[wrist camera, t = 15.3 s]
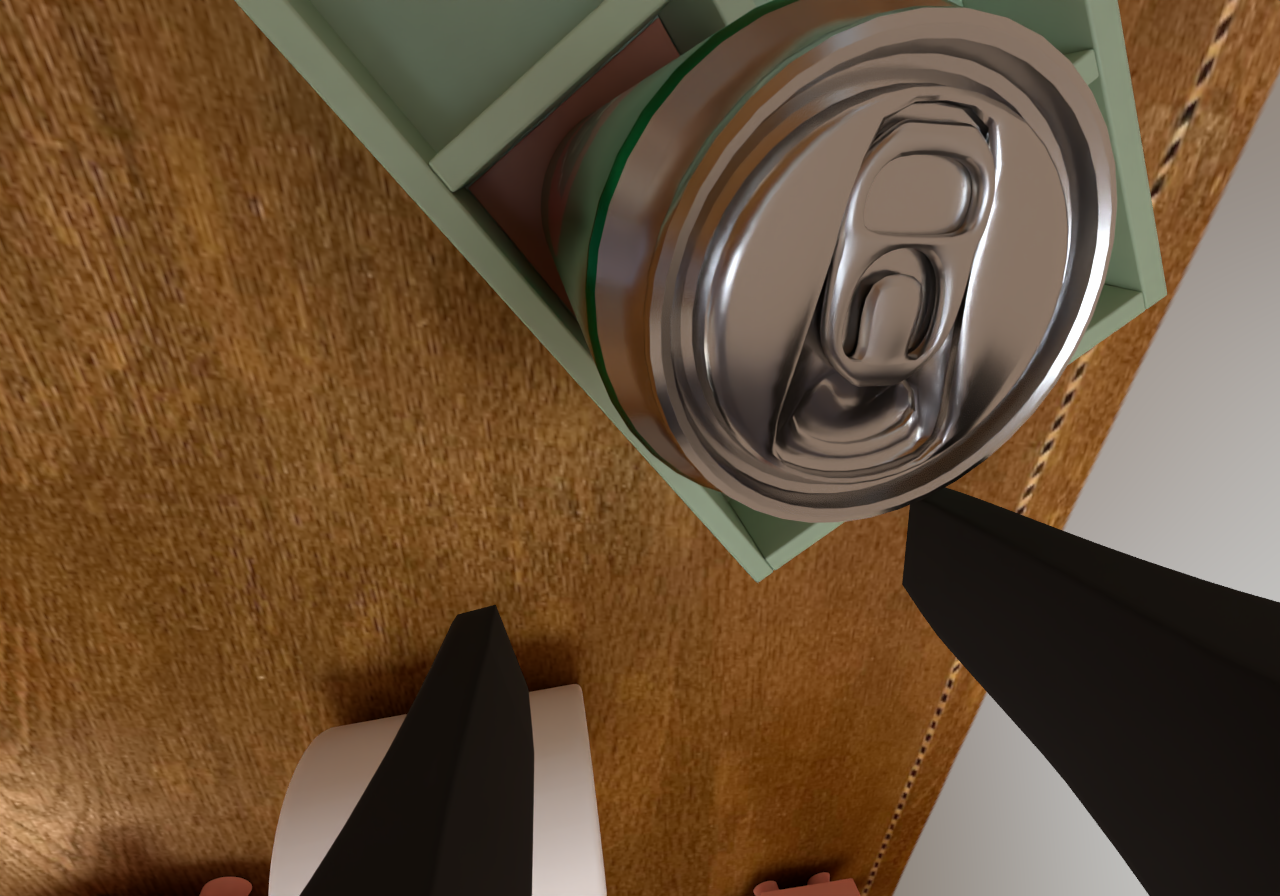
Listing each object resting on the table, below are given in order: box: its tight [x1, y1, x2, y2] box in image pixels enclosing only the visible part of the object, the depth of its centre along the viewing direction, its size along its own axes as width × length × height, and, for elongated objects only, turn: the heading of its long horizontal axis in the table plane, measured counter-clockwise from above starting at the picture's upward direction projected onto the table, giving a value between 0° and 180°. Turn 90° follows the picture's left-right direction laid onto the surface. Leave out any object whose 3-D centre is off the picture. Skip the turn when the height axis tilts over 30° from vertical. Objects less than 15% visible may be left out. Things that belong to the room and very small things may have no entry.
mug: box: [268, 684, 607, 896], centre depth 22 cm, size 12×10×8 cm
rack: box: [234, 0, 1167, 582], centre depth 14 cm, size 15×22×4 cm
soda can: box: [541, 0, 1117, 523], centre depth 10 cm, size 5×5×12 cm
